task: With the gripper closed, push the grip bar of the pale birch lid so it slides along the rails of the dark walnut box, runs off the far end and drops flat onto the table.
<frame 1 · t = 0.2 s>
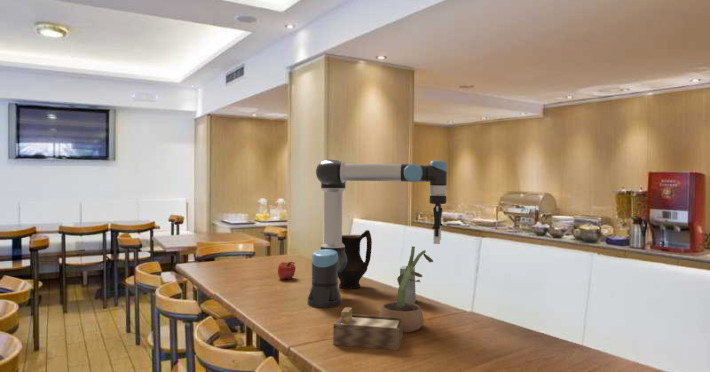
hand: (437, 241, 217), 28 cm above the table, fingers open, 13 cm apart
box: (368, 340, 166), on the table
vegetable: (286, 279, 266), on the table
potted plant: (406, 325, 184), on the table
skincare box: (407, 301, 220), on the table
lid: (369, 325, 166), point 5 cm above the table, touching box
jug: (351, 287, 247), on the table
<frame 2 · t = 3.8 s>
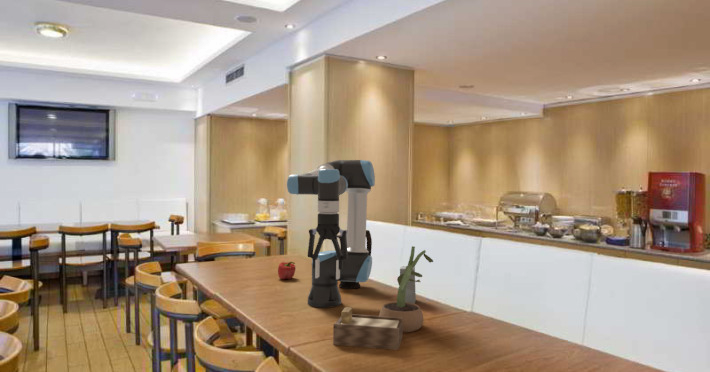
hand: (327, 277, 169), 21 cm above the table, fingers open, 7 cm apart
nothing on the table moved.
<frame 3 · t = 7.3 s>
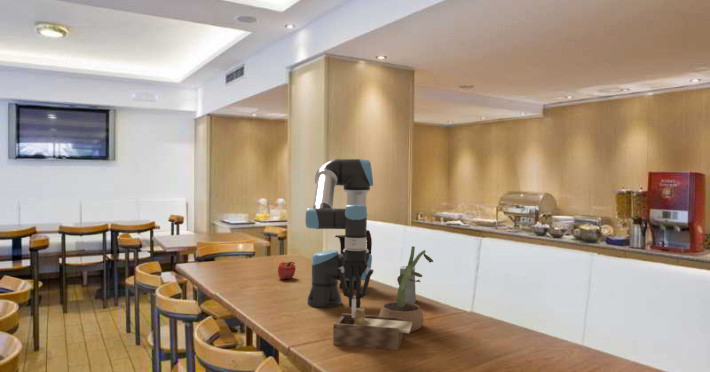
hand: (354, 316, 167), 8 cm above the table, fingers closed
lid: (383, 326, 165), point 6 cm above the table, touching gripper
everything else where it was.
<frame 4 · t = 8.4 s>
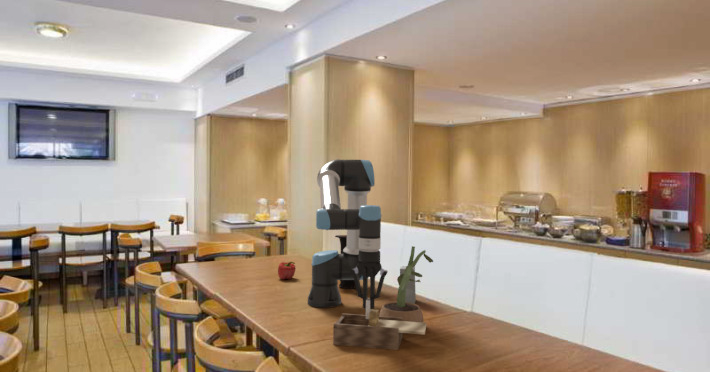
hand: (368, 317, 166), 8 cm above the table, fingers closed
lid: (397, 327, 164), point 6 cm above the table, touching gripper
everything else where it was.
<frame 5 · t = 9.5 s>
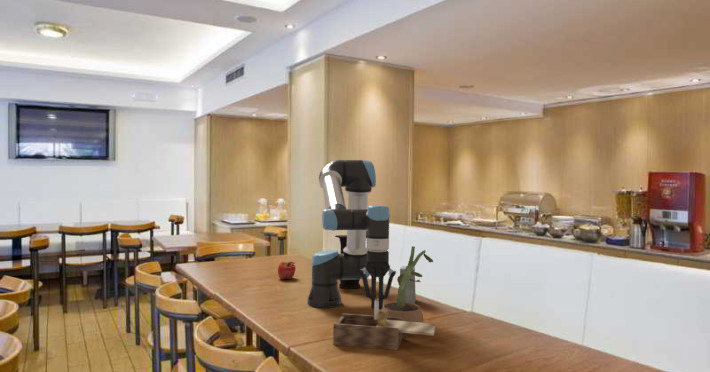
hand: (376, 318, 165), 8 cm above the table, fingers closed
lid: (406, 328, 163), point 5 cm above the table, touching gripper
everything else where it was.
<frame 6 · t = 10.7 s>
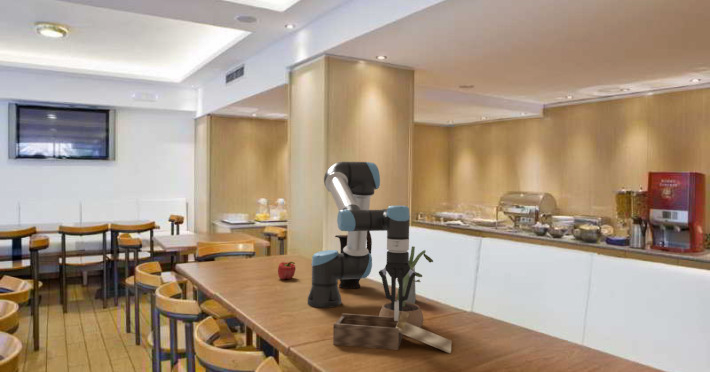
hand: (396, 319, 164), 8 cm above the table, fingers closed
lid: (423, 336, 162), point 3 cm above the table, tilted 18°, touching gripper
everything else where it was.
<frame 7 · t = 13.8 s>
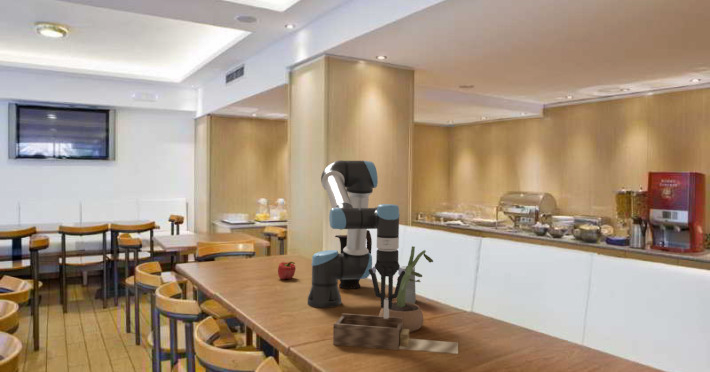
hand: (386, 317, 165), 8 cm above the table, fingers closed
lid: (428, 347, 162), on the table
everything else where it was.
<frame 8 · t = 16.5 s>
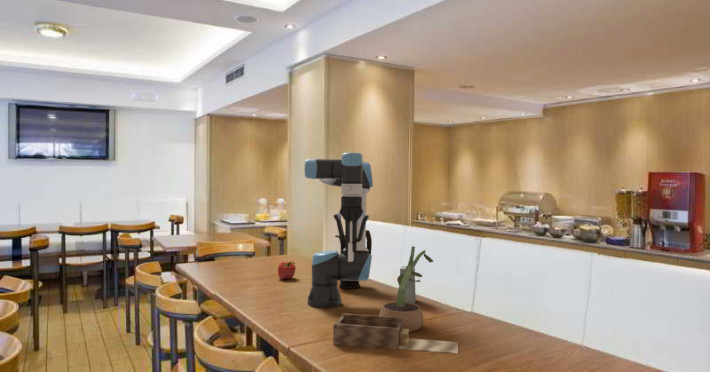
hand: (350, 260, 173), 26 cm above the table, fingers closed
nothing on the table moved.
at the end: lid inside the target area (11.4 cm from its centre), on the table; lid touching table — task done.
